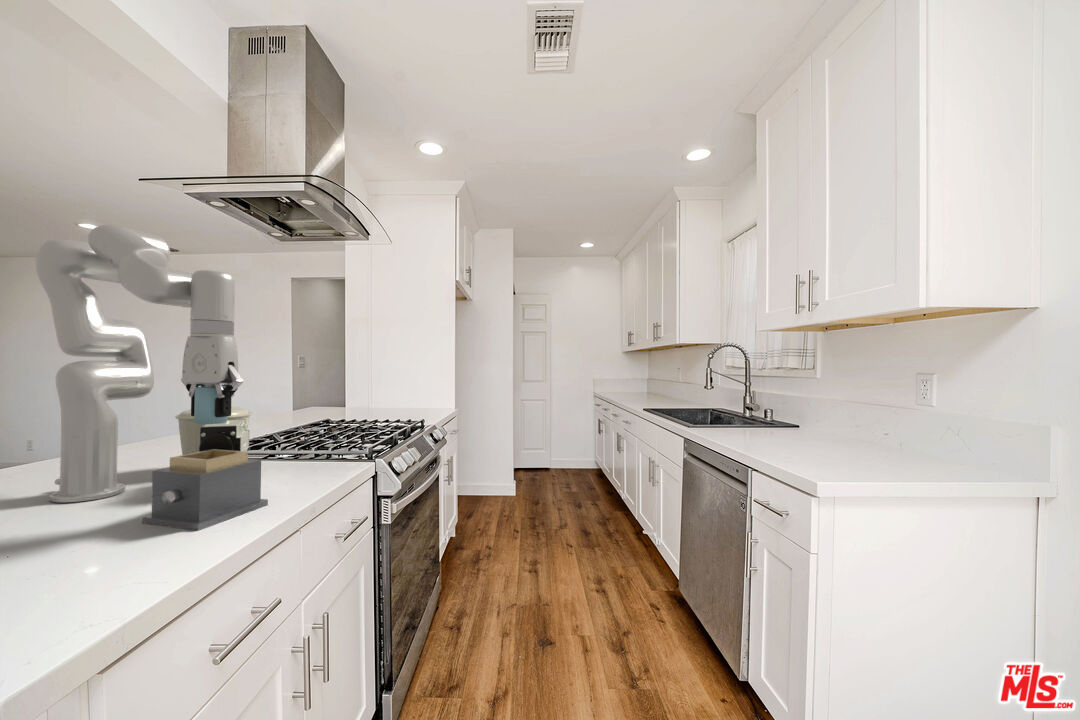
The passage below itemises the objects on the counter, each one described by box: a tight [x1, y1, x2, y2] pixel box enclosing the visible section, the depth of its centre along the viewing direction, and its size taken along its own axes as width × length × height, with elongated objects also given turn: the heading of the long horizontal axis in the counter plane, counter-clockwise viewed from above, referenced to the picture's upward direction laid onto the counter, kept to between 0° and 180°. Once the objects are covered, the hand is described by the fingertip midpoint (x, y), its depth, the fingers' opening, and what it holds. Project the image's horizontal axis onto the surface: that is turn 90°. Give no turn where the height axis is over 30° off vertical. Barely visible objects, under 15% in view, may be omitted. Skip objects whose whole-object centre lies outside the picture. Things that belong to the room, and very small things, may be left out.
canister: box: [175, 406, 253, 455], centre depth 131 cm, size 18×18×21 cm
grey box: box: [141, 449, 269, 531], centre depth 95 cm, size 14×17×12 cm
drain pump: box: [194, 384, 227, 424], centre depth 96 cm, size 6×7×9 cm
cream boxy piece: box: [199, 419, 250, 452], centre depth 116 cm, size 18×8×18 cm, turn 25°
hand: (211, 415), depth 95 cm, fingers closed on drain pump, 5 cm apart
